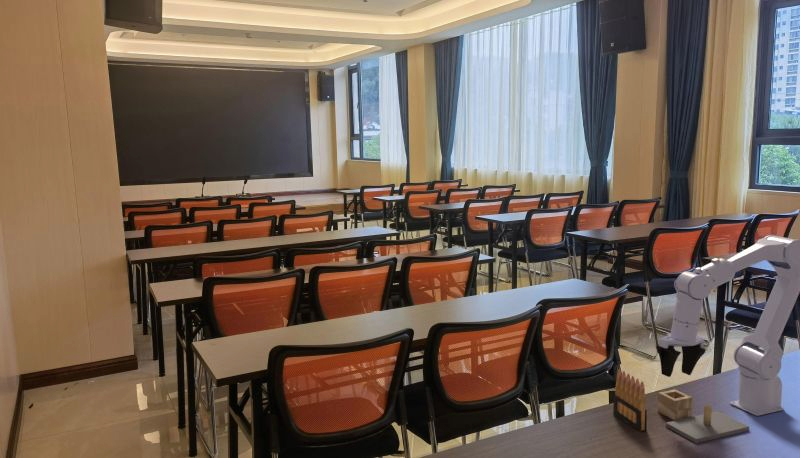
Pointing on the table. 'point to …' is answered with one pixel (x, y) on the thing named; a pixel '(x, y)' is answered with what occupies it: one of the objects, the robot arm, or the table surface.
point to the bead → (674, 404)
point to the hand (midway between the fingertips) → (676, 374)
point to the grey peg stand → (707, 426)
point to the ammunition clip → (630, 401)
